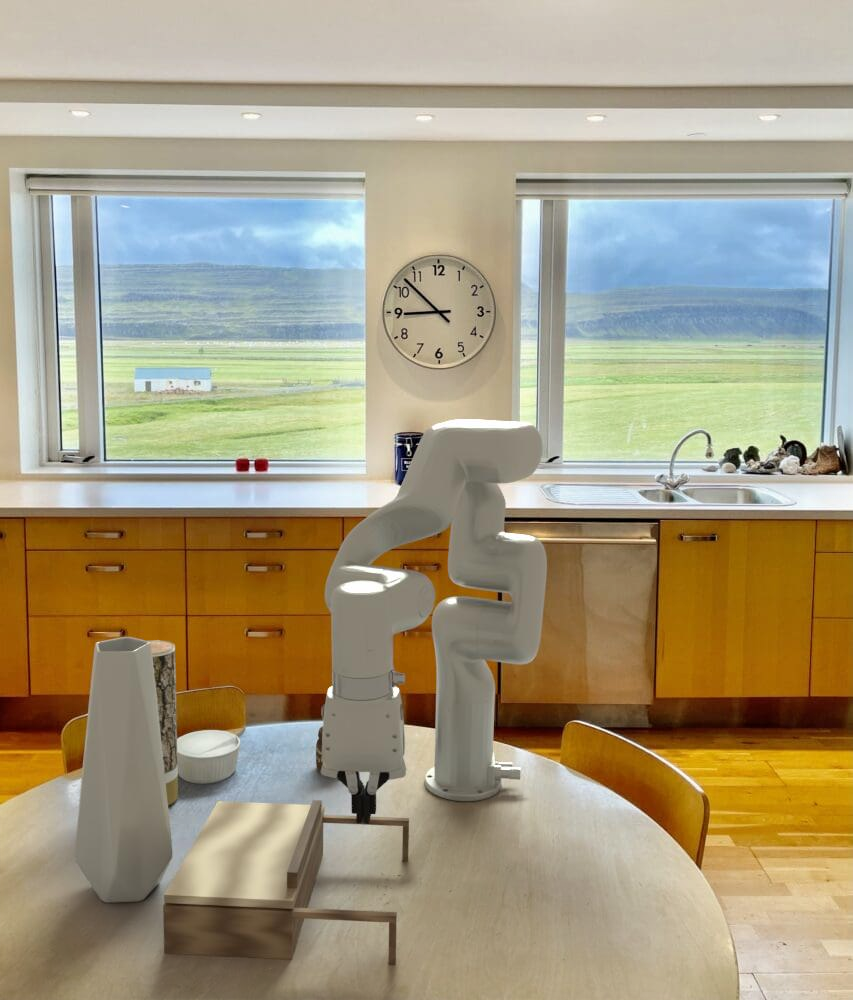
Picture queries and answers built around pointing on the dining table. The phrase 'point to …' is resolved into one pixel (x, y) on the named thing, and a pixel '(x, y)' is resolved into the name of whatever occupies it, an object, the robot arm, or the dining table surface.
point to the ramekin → (207, 756)
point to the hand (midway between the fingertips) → (364, 817)
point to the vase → (123, 777)
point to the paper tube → (167, 711)
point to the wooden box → (267, 915)
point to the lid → (248, 856)
